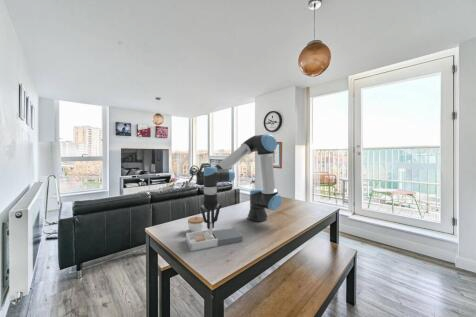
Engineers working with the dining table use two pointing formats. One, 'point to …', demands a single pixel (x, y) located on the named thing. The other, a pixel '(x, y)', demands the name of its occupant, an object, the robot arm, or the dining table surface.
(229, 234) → the board
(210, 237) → the tile
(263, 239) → the dining table surface
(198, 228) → the lidded jar
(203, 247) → the tray
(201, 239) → the tile
